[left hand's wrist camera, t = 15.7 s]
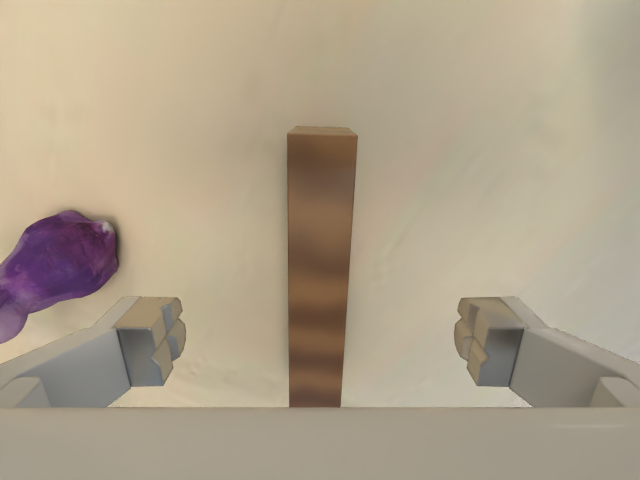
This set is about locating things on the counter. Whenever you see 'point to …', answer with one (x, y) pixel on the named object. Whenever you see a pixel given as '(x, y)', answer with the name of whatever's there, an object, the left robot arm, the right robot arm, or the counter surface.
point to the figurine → (54, 267)
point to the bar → (318, 260)
